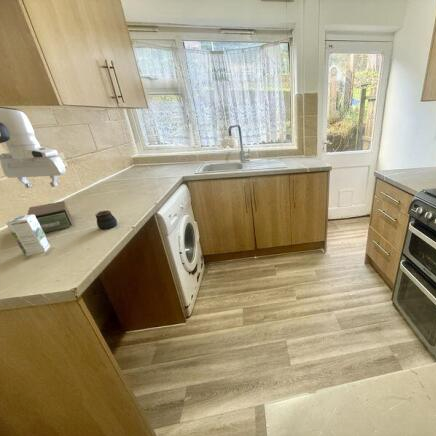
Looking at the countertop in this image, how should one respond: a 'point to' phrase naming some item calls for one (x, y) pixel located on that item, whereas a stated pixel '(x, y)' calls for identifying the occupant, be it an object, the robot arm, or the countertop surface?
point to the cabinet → (50, 210)
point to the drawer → (53, 222)
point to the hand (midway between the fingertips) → (42, 186)
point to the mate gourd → (105, 220)
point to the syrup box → (28, 234)
